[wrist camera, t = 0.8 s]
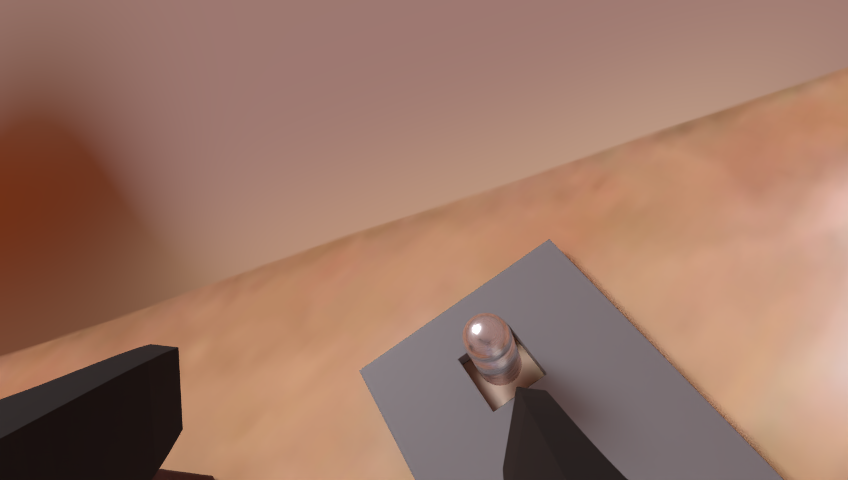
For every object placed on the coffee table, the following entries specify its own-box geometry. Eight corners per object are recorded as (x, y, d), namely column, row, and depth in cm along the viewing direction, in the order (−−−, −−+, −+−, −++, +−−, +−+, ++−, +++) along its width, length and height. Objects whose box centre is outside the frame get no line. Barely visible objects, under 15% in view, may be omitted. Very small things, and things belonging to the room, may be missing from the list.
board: (868, 579, 16) (883, 582, 16) (588, 803, 16) (588, 818, 15) (550, 248, 26) (549, 239, 25) (366, 375, 25) (359, 370, 24)
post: (530, 368, 22) (519, 334, 18) (494, 394, 22) (476, 365, 18) (504, 334, 23) (489, 295, 19) (470, 358, 23) (447, 324, 19)
